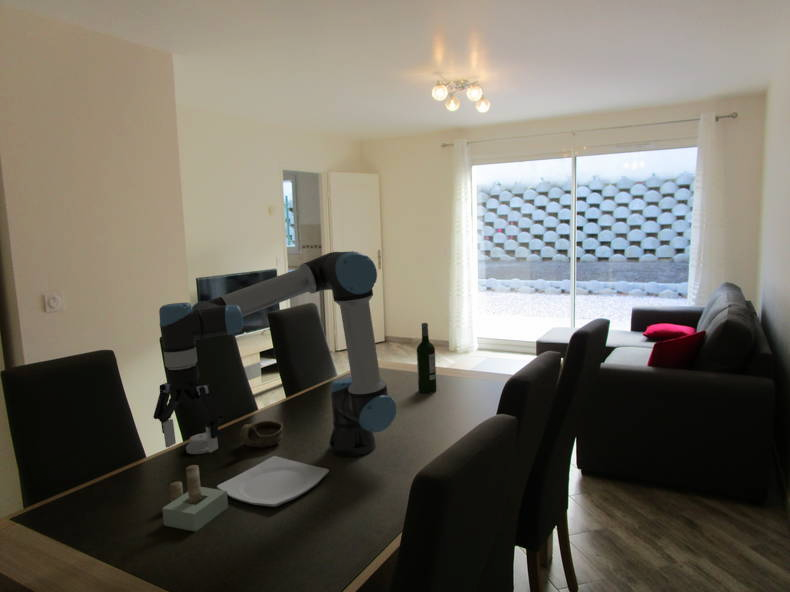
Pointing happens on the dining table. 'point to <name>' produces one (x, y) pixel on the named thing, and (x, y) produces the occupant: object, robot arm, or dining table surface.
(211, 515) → the hole block
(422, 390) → the wine bottle
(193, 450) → the mechanical component
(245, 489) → the plate
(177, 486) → the short dowel
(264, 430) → the brown mug
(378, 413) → the robot arm
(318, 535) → the dining table surface
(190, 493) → the long dowel
